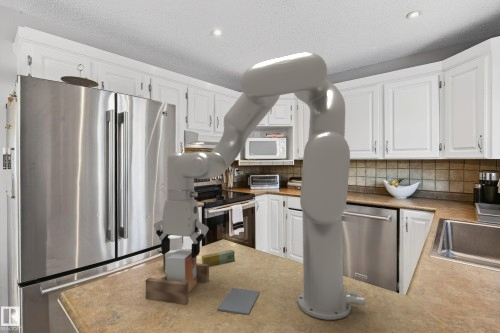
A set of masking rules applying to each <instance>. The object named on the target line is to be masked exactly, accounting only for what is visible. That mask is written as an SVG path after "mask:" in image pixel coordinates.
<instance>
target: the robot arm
mask: <svg viewBox="0 0 500 333" xmlns="http://www.w3.org/2000/svg"><path fill="white" fill-rule="evenodd" d="M327 78H328V67H327V63H326V62H325V60H324V59H323V57H322V56H321V55H319V54H316V53H315V52H309V51H307V52H300V53H295V54H291V55H285V56H282V57H278V58H273V59H269V60H265V61H261V62H257V63H256V64H253V65H251V66H249V67H248V68H247V69H246V70H245V71H244V72H243V74H242V75H241V79H240V88H241V91H242V94H241V95H240V96H239V97H238V98H237V100H236V101H235V102H234V104H233V105H232V106H231V107H230V108H229V110H227V112H226V114H225V115H224V117H223V132H222V136H221V138H220V140H219V142H218V143H217V144H216V145H215V147H214V148H213V149H212V150H211V151H210V152H209V151H194V152H172V153H169V154H168V155H167V161H166V163H167V166H166V168H167V169H166V171H167V172H166V174H167V175H166V178H167V179H166V200H165V202H164V206H163V210H162V219H161V220H159V221H157V222H156V223H153V227H154V230H155V233H156V235H157V236H158V239H159V240H160V241H161V242H160V247H161V248H160V249H161V255H163V254H165V253H167V252H169V251H170V238H168V237H169V235H176V236H183V237H189V239H190V240H191V242H192V243H191V249H192V258H195V257H196V258H197V257H198V256H199V255H200V252H201V241H202V240H203V239H205V237H206V235H207V233H208V231H210V230H209V227H208V225H205V224H204V223H202V222H201V221H200V220H201V219H200V210H199V205H198V202H197V201H198V200H197V199H195V198H198V195H199V194H198V192H197V191H195V179H197V180H207V179H214V178H219V177H220V176H221V175H223V174H224V173H225V172H226V171H227V170H228V169H229V168H230V166H231V165H232V164H233V163H234V162H235V160H236V158H237V157H238V156H239V154H241V151H242V149H243V148H244V146H245V145H246V142H247V140H248V138H249V137H250V135H251V134H252V133H253V132H254V130H255V129H256V128H257V127H258V125H259V124H260V123H261V122H262V121H263V119H264V118H265V117H266V116H267V115H268V114H269V112H270V111H271V110H272V109H273V107H275V105H276V104H277V102H278V101H279V98H280V96H283V95H289V94H294V96H295V97H296V98H297V99H298V100H300V101H301V102H303V103H304V104H306V105H307V107H308V108H309V112H310V113H309V128H308V129H309V130H308V139H307V142H306V143H305V146H304V150H303V158H302V159H303V161H302V170H301V171H302V173H301V181H300V182H301V184H300V197H299V204H300V205H299V206H300V209H301V212H302V214H301V215H302V263H303V264H302V268H303V271H302V272H303V291H302V292H300V293H299V295H298V297H297V305H298V307H299V309H300V310H302V312H303V313H305V314H307V315H309V316H311V317H314V318H317V319H320V320H328V321H332V320H333V321H334V320H340V319H344V318H346V317H347V316H348V315H349V314H350V313H351V311H352V310H351V309H352V308H351V305H357V306H364V307H365V305H366V302H365V296H363V295H362V296H361V295H359V294H358V292H357V291H348V290H347V289H345V284H344V264H343V263H344V259H343V257H344V255H343V252H344V251H343V243H344V242H343V221H342V216H343V214H344V213H345V210H346V206H347V199H348V188H349V180H350V179H349V178H350V176H349V175H350V167H351V166H350V165H351V164H350V163H351V151H350V145H349V144H348V141H347V140H346V138H345V135H346V134H345V133H346V103H345V100H344V96H343V95H342V93H341V91H340V90H339V89H338V88H337V86H335V84H333V82H330V81H329V80H328V79H327ZM200 230H201V232H200ZM199 232H200V234H199Z"/></svg>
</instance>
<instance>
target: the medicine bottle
mask: <svg viewBox="0 0 500 333" xmlns="http://www.w3.org/2000/svg"><path fill="white" fill-rule="evenodd" d="M168 238H170V251H169V252H167V253H165V254H162V256H163V259H162V260H163V262H162V265H163V270H164V271H163V272H164V274H165V275H167V257H169V256H171V255H172V254H174V253H175V252H176V251H178V250H179V249H186V247H185V244H184V236H176V235H169V237H168Z"/></svg>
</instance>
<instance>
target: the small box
mask: <svg viewBox="0 0 500 333" xmlns="http://www.w3.org/2000/svg"><path fill="white" fill-rule="evenodd" d="M197 260H198V259H197V256H196V257H195V258H192V248H185V249H179V250H178V251H176V252H175V253H174V254H172V255H171V256H169V257H167V274H166V275H167V280H173V281H181V282H188V294H189V293H190V292H191V291H192V290H193V289H194V287H196V286H197V285H198V284H197V283H198V282H197V263H198V262H197Z"/></svg>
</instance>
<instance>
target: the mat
mask: <svg viewBox="0 0 500 333" xmlns="http://www.w3.org/2000/svg"><path fill="white" fill-rule="evenodd" d="M260 293H261V292H260V290H253V289H245V288H238V287H237V288H236V287H232V288H231V290H229V292H228V293H227V295H225V298H224V299H223V300H222V302H221V303H220V304H219V306H218V307H217V310H216V311H219V312H226V313H231V314H232V313H233V314H237V315H245V316H249V315H250V313H251V311H252V309H253V307H254V305H255V303H256V301H257V298H258V297H259V295H260Z"/></svg>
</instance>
